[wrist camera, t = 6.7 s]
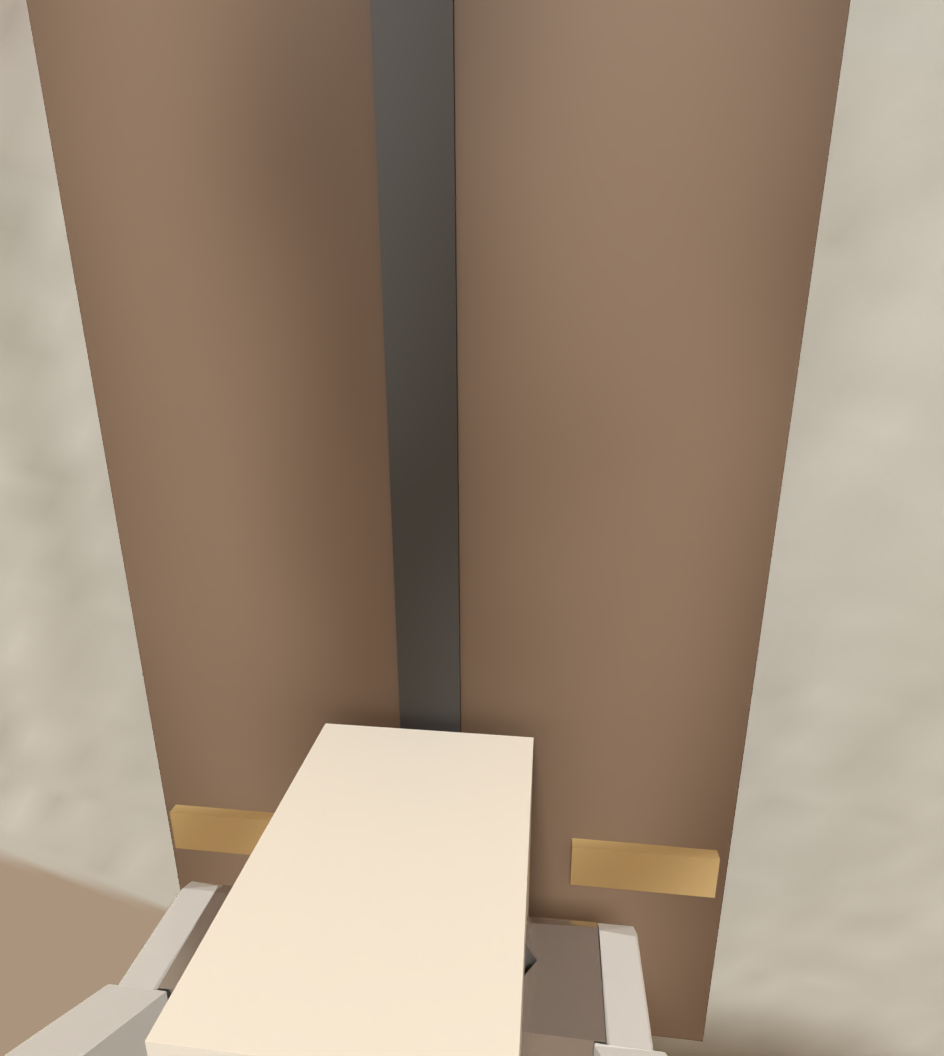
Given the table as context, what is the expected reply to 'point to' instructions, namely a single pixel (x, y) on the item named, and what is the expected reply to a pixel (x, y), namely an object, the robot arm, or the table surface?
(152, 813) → the table surface
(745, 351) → the brown slider board
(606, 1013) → the robot arm
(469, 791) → the fader tab
